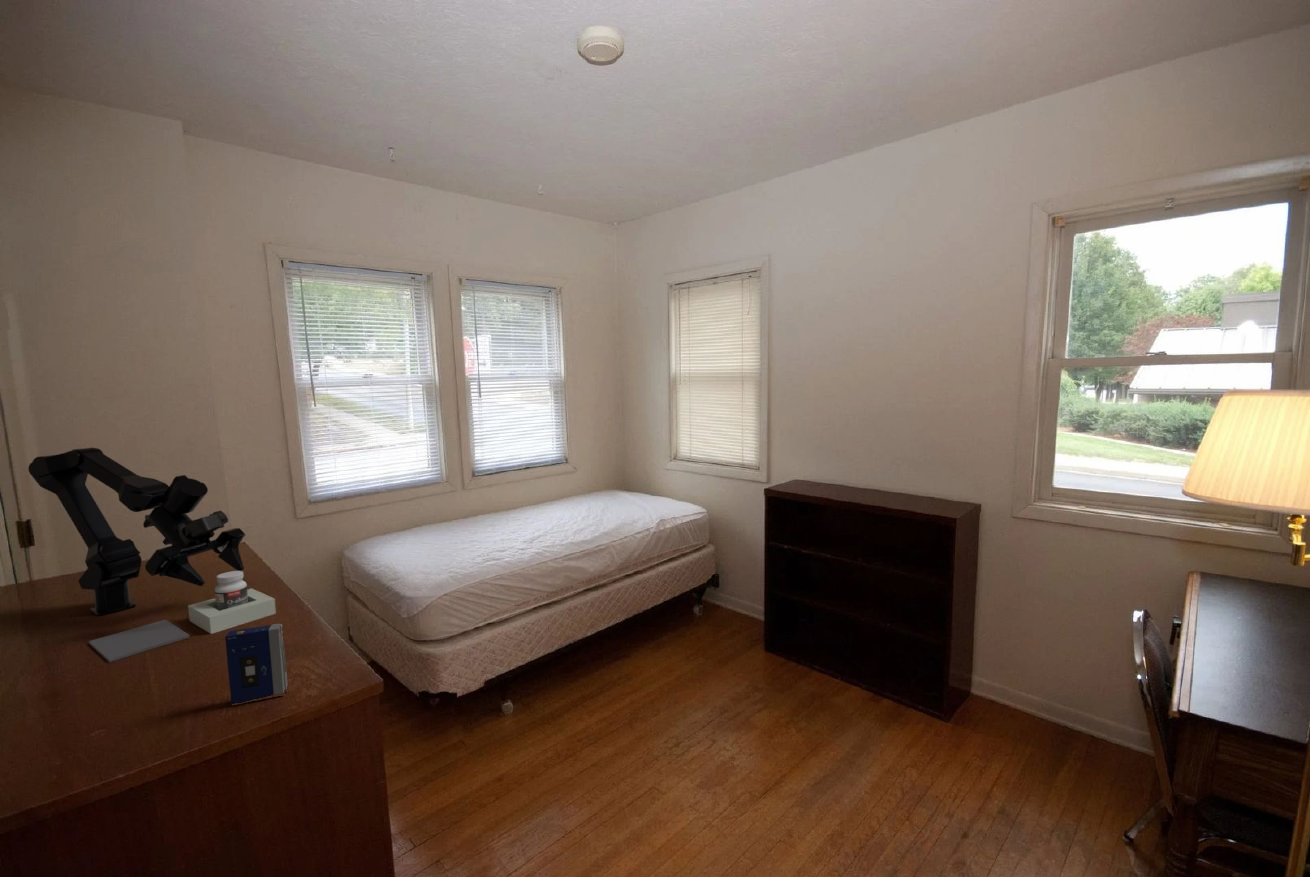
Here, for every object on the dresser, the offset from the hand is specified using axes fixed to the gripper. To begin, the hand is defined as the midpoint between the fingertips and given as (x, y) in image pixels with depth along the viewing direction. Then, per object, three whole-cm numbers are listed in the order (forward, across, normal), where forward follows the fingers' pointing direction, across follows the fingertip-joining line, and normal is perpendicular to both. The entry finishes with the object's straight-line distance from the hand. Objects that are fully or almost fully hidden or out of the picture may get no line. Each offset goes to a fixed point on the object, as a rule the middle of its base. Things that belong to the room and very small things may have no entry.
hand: (223, 577), depth 122 cm
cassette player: (+32, -26, -19) cm, 46 cm away
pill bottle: (+8, 0, +6) cm, 10 cm away
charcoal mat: (+2, -13, +11) cm, 17 cm away
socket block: (+8, 0, +5) cm, 9 cm away
